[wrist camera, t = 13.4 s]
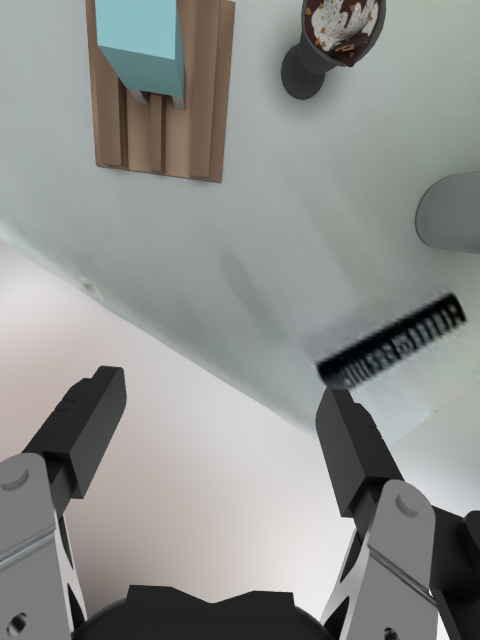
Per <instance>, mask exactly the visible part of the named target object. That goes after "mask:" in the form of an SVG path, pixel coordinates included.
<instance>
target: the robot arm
mask: <svg viewBox="0 0 480 640" xmlns="http://www.w3.org/2000/svg"><path fill="white" fill-rule="evenodd" d="M416 226H417V231H418V234H419V236H420V238H421V239H422V240H423V242H425V243H426V244H428V245H430V246H432V247H436V248H443V249H450V250H456V251H462V252H468V253H475V254H480V171H479V172H472V173H466V174H459V175H453V176H449V177H446V178H444V179H442V180H440V181H438V182H437V183H436V184H435V185H433V186H432V187H431V188H430V189H429V191H428V192H427V193H426V194H425V196H424V197H423V199H422V201H421V203H420V205H419V208H418V212H417V216H416ZM126 399H127V397H126V387H125V379H124V370H123V368H121V367H112V366H100V367H99V368H98V370H97V371H96V373H95V374H94V375H93V377H92V378H91V379H90V378H83V379H82V380H80V381H79V382H78V383H76V384H75V385H73V386H72V387H71V388H70V389H69V390H68V392H67V393H66V394H65V396H64V397H63V398H62V401H60V403H59V404H58V405H57V406H56V408H55V410H54V411H53V412H52V413H51V415H50V416H49V417H48V418H47V420H46V421H45V422H44V424H43V425H42V427H41V428H40V429H39V430H38V432H37V433H36V434H35V436H34V437H33V438H32V440H31V441H30V442H29V444H28V445H27V446H26V448H25V449H24V450H23V451H22V453H21V454H18V455H15V456H12V457H10V458H7V459H6V460H4V461H2V462H1V463H0V640H436V636H437V623H438V611H439V614H440V616H441V619H442V621H443V623H444V626H445V628H446V631H447V633H448V636H449V638H450V640H480V511H471V512H470V513H468V514H467V515H466V516H465V517H464V518H463V517H460V516H458V515H455V514H452V513H450V512H447V511H445V510H442V509H440V508H437V507H435V506H433V505H431V504H430V502H429V501H428V499H427V498H426V497H425V496H424V495H423V494H422V493H421V492H420V491H419V490H418V489H416V488H415V487H414V486H412V485H411V484H409V483H407V482H405V480H404V479H403V477H402V475H401V473H400V471H399V469H398V467H397V465H396V463H395V461H394V459H393V457H392V455H391V453H390V452H389V450H388V448H387V446H386V444H385V442H384V440H383V439H382V436H381V434H380V432H379V430H378V429H377V428H376V427H377V426H376V424H375V422H374V420H373V418H372V417H371V415H370V413H369V412H368V411H367V410H366V409H365V408H364V407H363V406H362V405H361V404H360V403H354V401H353V399H352V397H351V395H350V393H349V391H348V390H347V389H342V388H331V387H327V388H326V389H325V392H324V394H323V397H322V400H321V402H320V405H319V408H318V410H317V413H316V430H317V433H318V437H319V440H320V444H321V447H322V451H323V454H324V458H325V461H326V465H327V468H328V472H329V475H330V479H331V482H332V486H333V489H334V493H335V496H336V500H337V504H338V507H339V510H340V514H341V517H349V518H353V519H354V522H355V525H356V528H355V530H354V532H353V535H352V538H351V541H350V544H349V547H348V550H347V552H346V556H345V558H344V561H343V564H342V567H341V570H340V573H339V576H338V579H337V582H336V585H335V587H334V590H333V592H332V594H331V596H330V598H329V600H328V603H327V604H326V607H325V609H324V612H323V614H322V617H321V620H320V622H319V621H317V620H316V619H315V618H314V617H312V616H311V615H310V614H309V613H307V612H306V611H304V610H302V609H300V608H299V607H297V606H295V605H294V598H293V593H292V592H272V591H271V592H270V591H251V592H248V593H245V594H242V595H239V596H236V597H233V598H230V599H226V600H223V601H220V602H217V603H208V602H205V601H203V600H201V599H198V598H196V597H194V596H191V595H189V594H187V593H184V592H182V591H180V590H177V589H175V588H173V587H166V586H144V585H130V586H129V590H128V594H127V597H126V598H123V599H120V600H117V601H115V602H113V603H111V604H109V605H107V606H106V607H104V608H102V609H101V610H99V611H97V612H96V613H95V614H94V615H92V616H91V617H90V618H88V619H87V614H86V609H85V605H84V600H83V596H82V592H81V588H80V585H79V582H78V578H77V574H76V569H75V564H74V559H73V554H72V549H71V544H70V539H69V534H68V529H67V524H66V519H65V514H64V511H65V509H66V507H67V505H68V503H69V501H70V499H71V498H74V499H83V498H84V496H85V494H86V492H87V490H88V487H89V485H90V483H91V481H92V479H93V477H94V474H95V472H96V470H97V468H98V466H99V464H100V462H101V460H102V457H103V455H104V453H105V451H106V449H107V447H108V444H109V442H110V440H111V438H112V436H113V434H114V432H115V429H116V427H117V425H118V423H119V421H120V419H121V417H122V414H123V412H124V409H125V406H126ZM429 589H430V591H431V593H432V596H433V597H432V596H431V595H430V594H429Z"/></svg>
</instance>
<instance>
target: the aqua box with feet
mask: <svg viewBox="0 0 480 640" xmlns="http://www.w3.org/2000/svg"><path fill="white" fill-rule="evenodd" d="M95 7H96V25H97V43H98V46H99V48H100V49H101V51H102V52H103V54H104V55H105V57H106V58H107V60H108V62H109V63H110V65H111V66H112V68H113V69H114V71H115V72H116V74H117V75H118V77H119V78H120V80H121V81H122V83H123V84H124V86H125V87H126V88H128V89H129V91H130V92H131V94H132V95H133V97H134V98H135V100H136V101H137V103H142V104H147V92H153V93H159V94H165V95H170V96H172V98H173V101H174V104H175V108H176V109H178V110H184V111H185V109H186V80H187V76H186V70H185V63H184V49H183V42H182V36H181V29H180V23H179V16H178V10H177V3H176V0H95Z"/></svg>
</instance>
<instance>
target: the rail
mask: <svg viewBox="0 0 480 640" xmlns="http://www.w3.org/2000/svg"><path fill="white" fill-rule="evenodd" d="M85 1H86V17H87V32H88V48H89V64H90V79H91V95H92V110H93V126H94V142H95V157H96V166H99V167H107V168H114V169H122V170H129V171H137V172H144V173H152V174H159V175H167V176H174V177H182V178H189V179H197V180H204V181H212V182H219V183H221V178H222V165H223V152H224V140H225V127H226V114H227V101H228V88H229V75H230V62H231V49H232V37H233V24H234V11H235V2H232V1H227V0H176V3H177V10H178V16H179V23H180V29H181V36H182V42H183V49H184V63H185V70H186V76H187V80H186V109H185V111H184V110H178V109H176V108H175V104H174V101H173V98H172V96H170V95H165V94H159V93H153V92H147V104H142V103H137V101H136V100H135V98H134V97H133V95H132V94H131V92H130V91H129V89H128V88H126V87H125V86H124V84H123V83H122V81H121V80H120V78H119V77H118V75H117V74H116V72H115V71H114V69H113V68H112V66H111V65H110V63H109V62H108V60H107V58H106V57H105V55H104V54H103V52H102V51H101V49H100V48H99V46H98V43H97V25H96V7H95V0H85Z"/></svg>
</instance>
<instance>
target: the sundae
mask: <svg viewBox="0 0 480 640" xmlns="http://www.w3.org/2000/svg"><path fill="white" fill-rule="evenodd" d="M385 13H386V0H303V6H302V13H301V18H302V34H301V40H300V44H297V45H295V46H293V47H292V48H291V49H290V50H289V51H288V52H287V54H286V56H285V58H284V60H283V63H282V71H281V76H282V81H283V85H284V87H285V88H286V90H287V92H288V93H289V94H290V95H291V96H293V97H295V98H297V99H308V98H310V97H312V96H314V95H315V94H316V93H317V92H318V91H319V89H320V88H321V86H322V84H323V81H324V77H325V72H327V71H329V70H331V69H333V68H334V67H336V66H341V67H344V66H348V67H353V65H354V64H355V63H356V62H358V61H359V60H361V59H362V58H363V57H364V56H365V55H366V54H367V53H368V52H369V51H370V49H371V48H372V47H373V46H374V44H375V42H376V41H377V39H378V37H379V35H380V33H381V31H382V29H383V25H384V20H385Z"/></svg>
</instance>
